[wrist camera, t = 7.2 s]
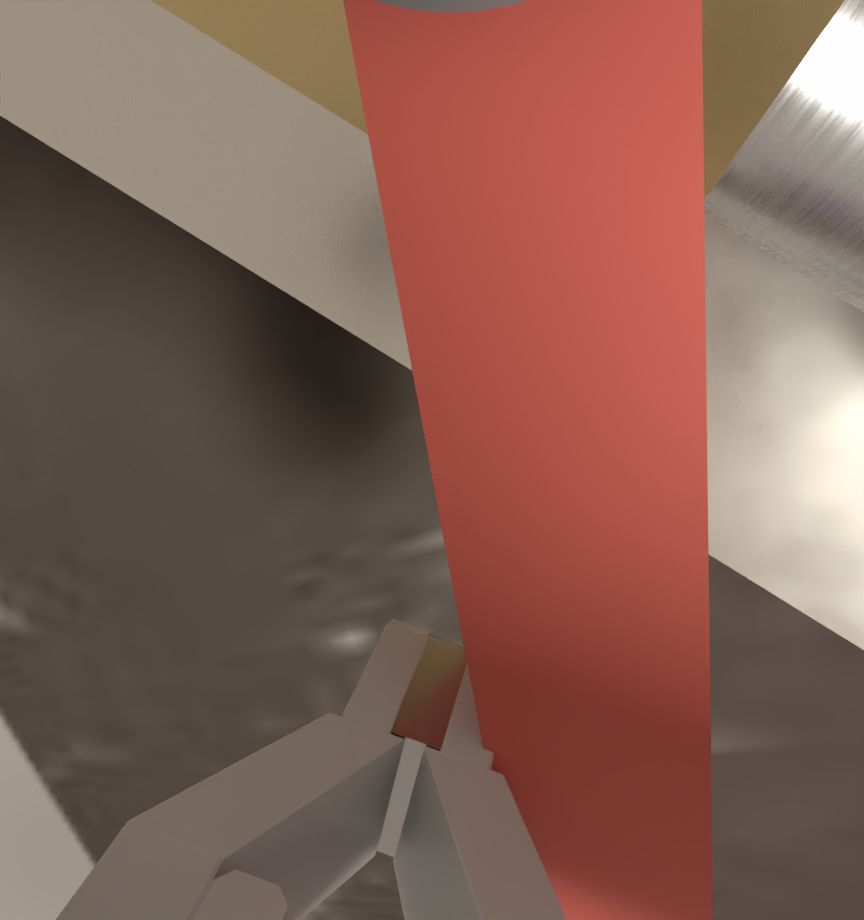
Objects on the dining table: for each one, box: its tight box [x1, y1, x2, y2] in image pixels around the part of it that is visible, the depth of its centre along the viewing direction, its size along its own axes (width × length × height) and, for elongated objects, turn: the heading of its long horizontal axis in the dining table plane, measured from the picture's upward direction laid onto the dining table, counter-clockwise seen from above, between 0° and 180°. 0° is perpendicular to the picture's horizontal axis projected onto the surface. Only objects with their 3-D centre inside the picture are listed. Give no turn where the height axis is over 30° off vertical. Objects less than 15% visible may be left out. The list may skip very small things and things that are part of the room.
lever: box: [343, 0, 713, 920], centre depth 7 cm, size 15×4×3 cm, turn 10°
